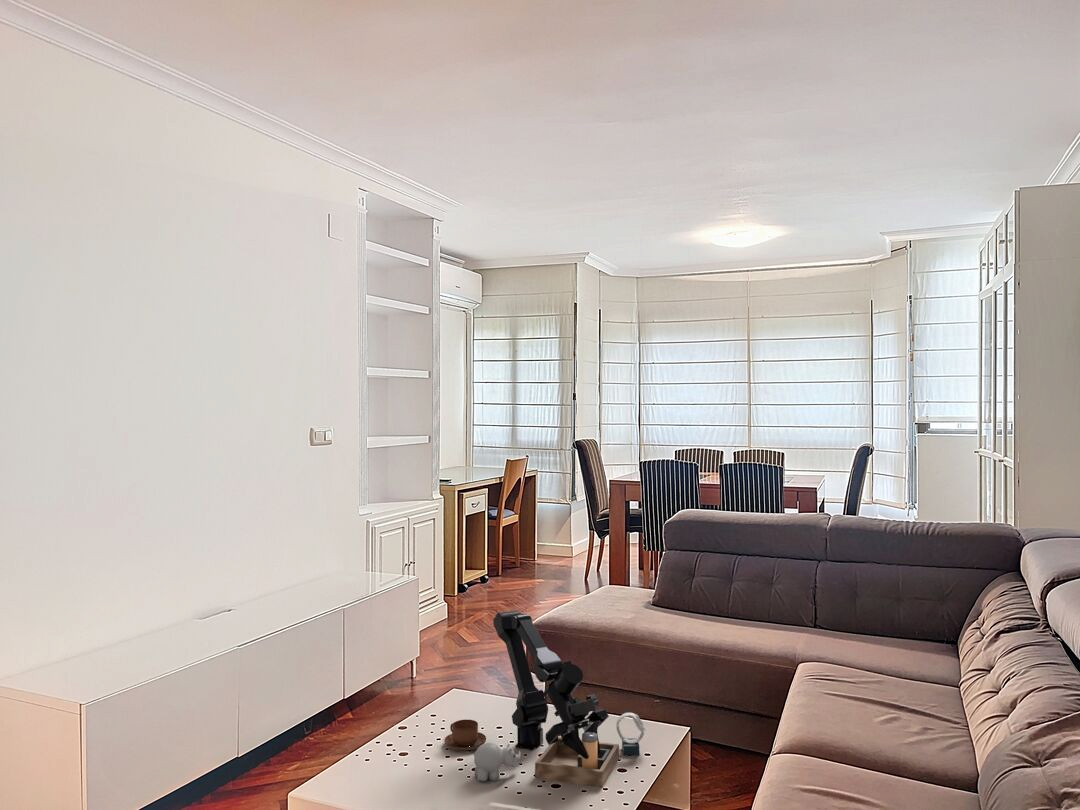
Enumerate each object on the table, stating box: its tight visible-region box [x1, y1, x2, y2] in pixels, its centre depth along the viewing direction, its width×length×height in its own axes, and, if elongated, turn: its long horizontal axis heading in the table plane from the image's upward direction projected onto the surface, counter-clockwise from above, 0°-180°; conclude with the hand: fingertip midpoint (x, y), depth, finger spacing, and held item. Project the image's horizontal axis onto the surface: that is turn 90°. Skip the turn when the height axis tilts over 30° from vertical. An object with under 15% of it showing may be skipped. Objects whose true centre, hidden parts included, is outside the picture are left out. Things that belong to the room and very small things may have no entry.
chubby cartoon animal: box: [473, 742, 522, 782], centre depth 219 cm, size 8×12×9 cm, turn 103°
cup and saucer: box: [443, 719, 487, 751], centre depth 240 cm, size 12×12×6 cm
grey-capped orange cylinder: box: [581, 732, 598, 769], centre depth 217 cm, size 4×4×11 cm
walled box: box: [534, 736, 620, 788], centre depth 222 cm, size 18×18×4 cm
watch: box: [616, 712, 646, 756], centre depth 233 cm, size 6×8×11 cm
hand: (593, 755), depth 216 cm, fingers closed on grey-capped orange cylinder, 4 cm apart
